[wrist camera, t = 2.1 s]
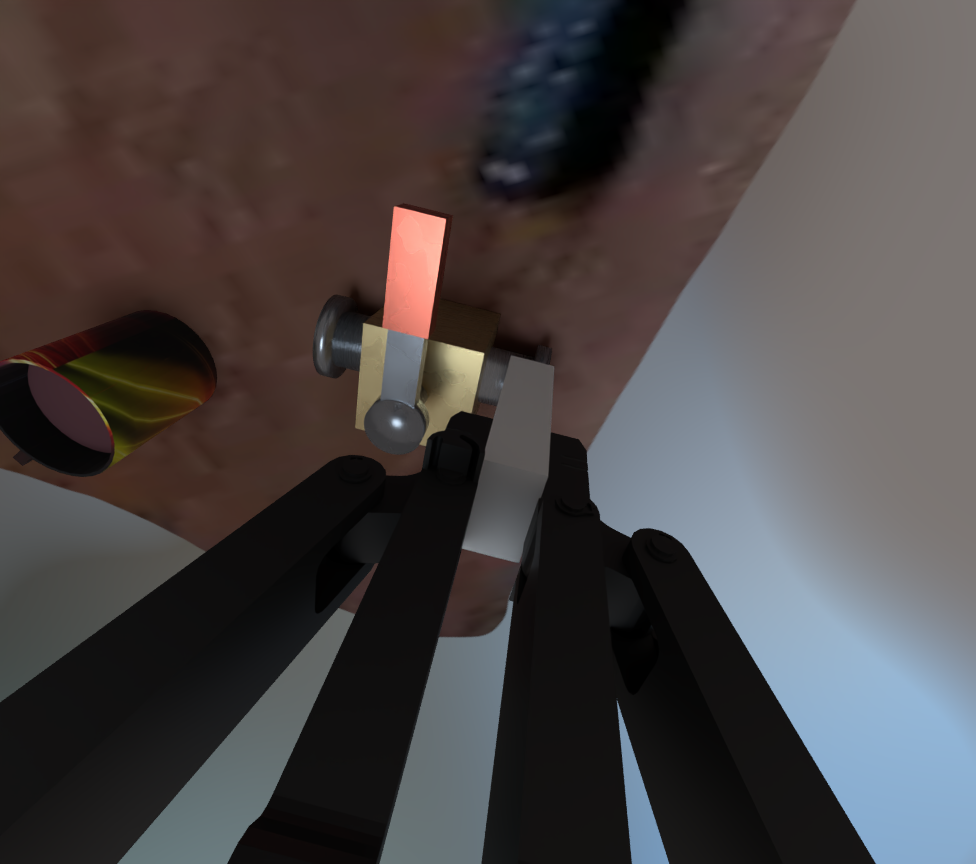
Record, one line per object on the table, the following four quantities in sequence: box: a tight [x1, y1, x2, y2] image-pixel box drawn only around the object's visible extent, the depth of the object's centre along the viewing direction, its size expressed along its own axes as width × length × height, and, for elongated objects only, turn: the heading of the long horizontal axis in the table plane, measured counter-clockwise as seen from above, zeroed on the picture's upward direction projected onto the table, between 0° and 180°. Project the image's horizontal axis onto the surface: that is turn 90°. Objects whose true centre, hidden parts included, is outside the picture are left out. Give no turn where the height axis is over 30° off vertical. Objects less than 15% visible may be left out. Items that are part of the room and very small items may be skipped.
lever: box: [364, 203, 453, 454], centre depth 28 cm, size 14×4×5 cm, turn 168°
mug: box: [0, 310, 217, 477], centre depth 41 cm, size 10×14×12 cm
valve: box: [313, 295, 552, 446], centre depth 37 cm, size 17×8×9 cm, turn 78°
